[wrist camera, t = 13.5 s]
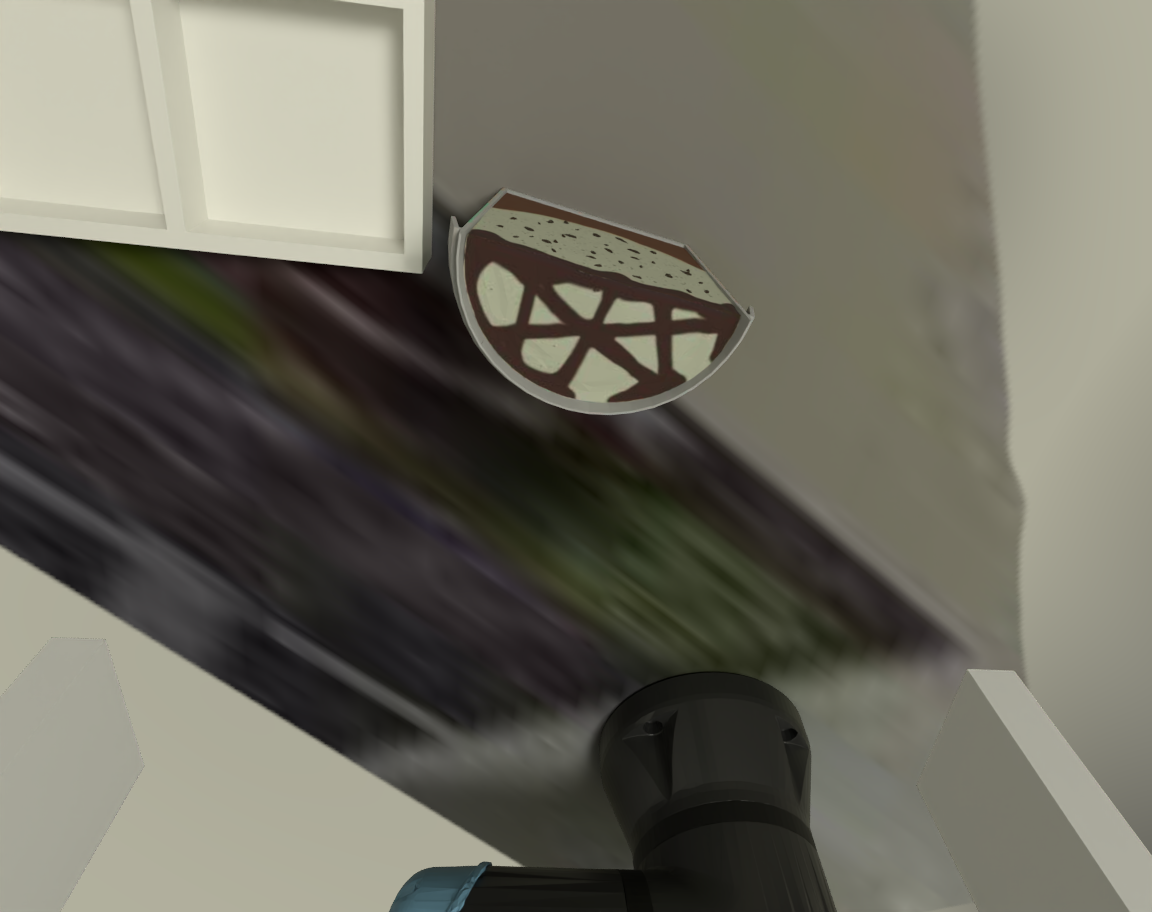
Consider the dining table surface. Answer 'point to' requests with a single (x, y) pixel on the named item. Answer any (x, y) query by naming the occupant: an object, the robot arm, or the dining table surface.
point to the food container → (589, 306)
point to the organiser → (222, 126)
